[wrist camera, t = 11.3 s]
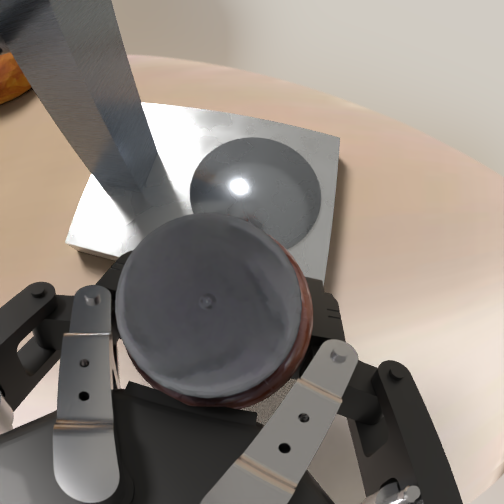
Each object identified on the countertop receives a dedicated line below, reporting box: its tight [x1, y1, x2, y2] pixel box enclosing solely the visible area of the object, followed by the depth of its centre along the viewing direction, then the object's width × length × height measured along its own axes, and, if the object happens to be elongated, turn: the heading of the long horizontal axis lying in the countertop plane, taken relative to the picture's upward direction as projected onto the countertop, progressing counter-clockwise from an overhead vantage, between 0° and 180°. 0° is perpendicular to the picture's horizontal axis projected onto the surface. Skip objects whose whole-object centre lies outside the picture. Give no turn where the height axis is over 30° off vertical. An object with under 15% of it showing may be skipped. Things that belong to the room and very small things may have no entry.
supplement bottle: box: [115, 213, 313, 409], centre depth 12 cm, size 6×6×11 cm
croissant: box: [0, 53, 32, 104], centre depth 24 cm, size 14×16×8 cm
